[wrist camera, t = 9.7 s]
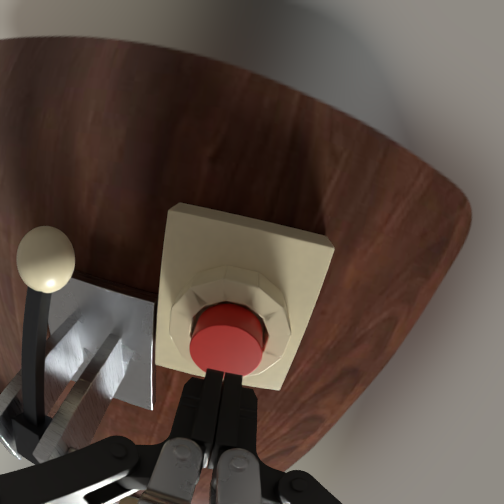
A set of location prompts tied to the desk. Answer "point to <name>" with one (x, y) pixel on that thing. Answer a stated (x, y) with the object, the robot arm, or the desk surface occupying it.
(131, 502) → the cream tin can
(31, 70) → the desk surface
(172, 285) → the control block
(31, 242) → the lever
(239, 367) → the button
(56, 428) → the bracket
